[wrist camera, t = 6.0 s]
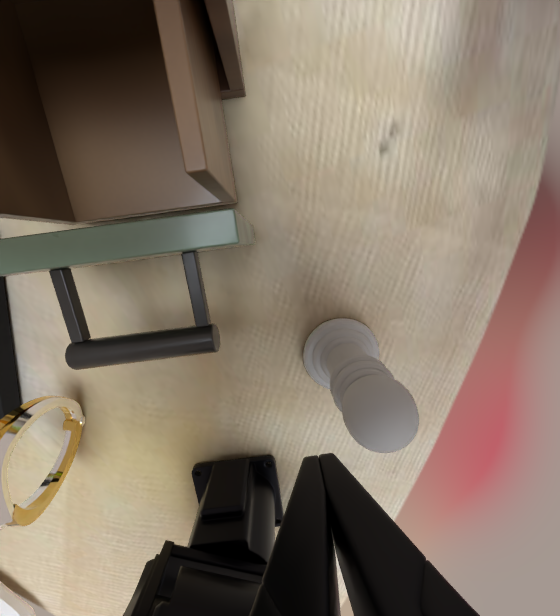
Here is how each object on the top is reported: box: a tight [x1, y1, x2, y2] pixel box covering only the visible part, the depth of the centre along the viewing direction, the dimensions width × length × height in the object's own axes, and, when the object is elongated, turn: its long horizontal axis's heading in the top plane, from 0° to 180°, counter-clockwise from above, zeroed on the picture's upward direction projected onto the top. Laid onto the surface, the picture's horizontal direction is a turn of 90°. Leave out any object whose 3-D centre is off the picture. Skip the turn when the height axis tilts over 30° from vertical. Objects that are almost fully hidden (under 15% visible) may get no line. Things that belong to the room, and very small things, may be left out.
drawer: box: [0, 0, 255, 370], centre depth 12 cm, size 18×11×8 cm, turn 7°
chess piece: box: [303, 318, 419, 453], centre depth 15 cm, size 5×5×9 cm
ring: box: [0, 396, 85, 529], centre depth 17 cm, size 7×3×8 cm, turn 169°
